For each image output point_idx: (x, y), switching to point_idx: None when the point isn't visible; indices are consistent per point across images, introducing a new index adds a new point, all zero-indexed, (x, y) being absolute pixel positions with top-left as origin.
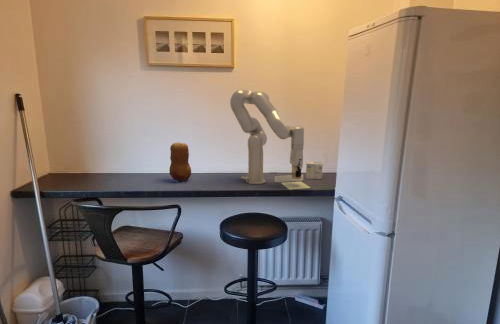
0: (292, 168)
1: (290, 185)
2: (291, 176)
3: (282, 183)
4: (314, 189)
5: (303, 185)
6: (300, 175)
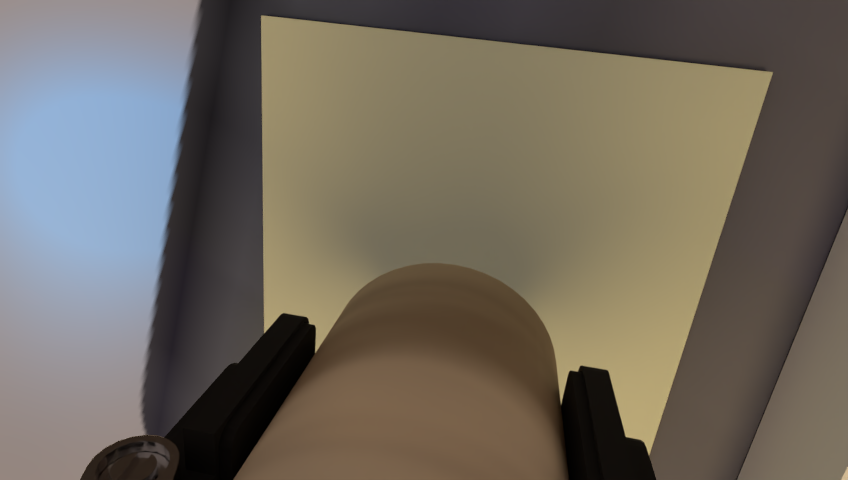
0: (416, 454)
1: (480, 172)
2: (838, 431)
3: (697, 80)
4: None
5: None
6: None
